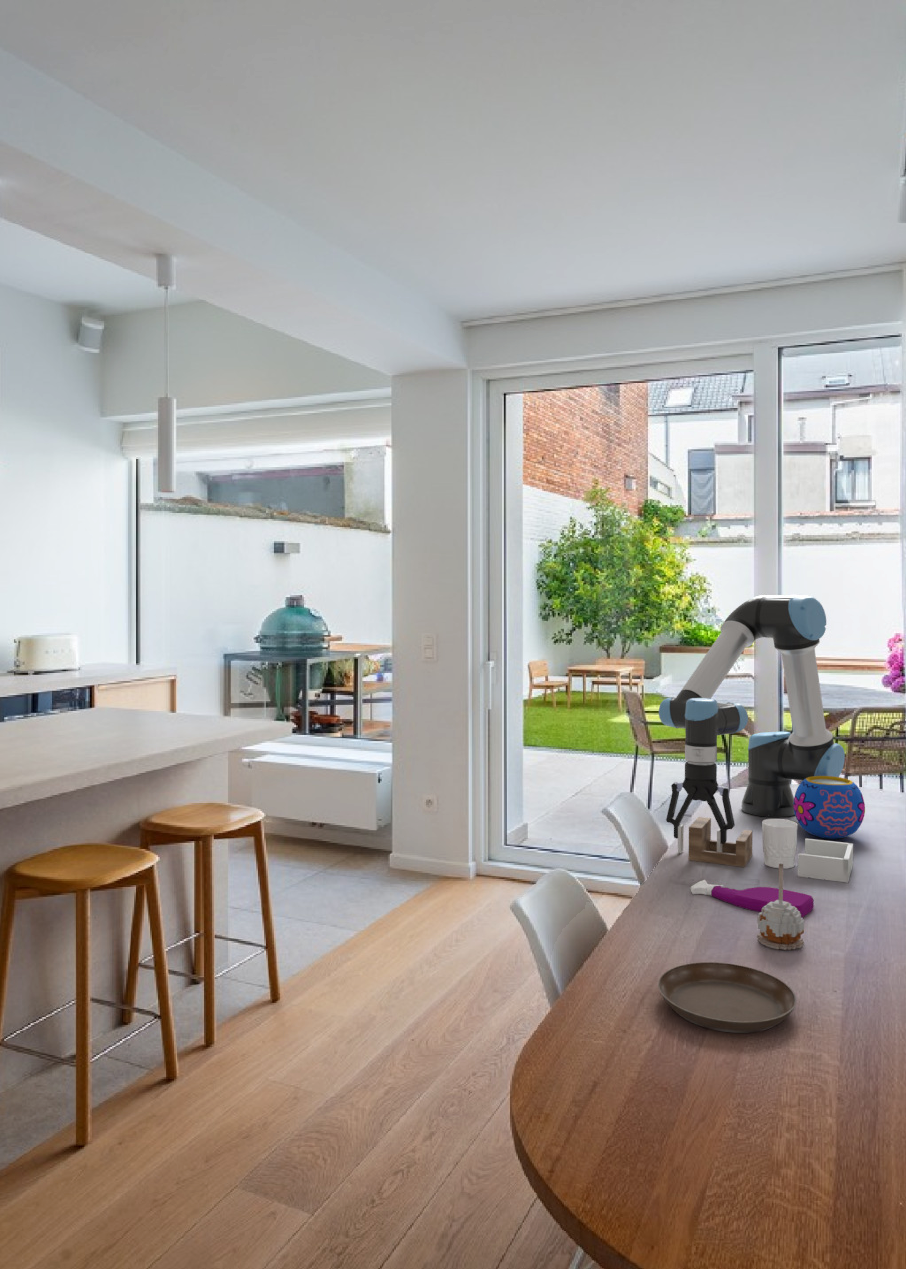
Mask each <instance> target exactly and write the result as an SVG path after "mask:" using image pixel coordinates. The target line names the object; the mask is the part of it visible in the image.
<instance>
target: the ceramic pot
mask: <svg viewBox="0 0 906 1269" xmlns="http://www.w3.org/2000/svg"><path fill="white" fill-rule="evenodd" d="M865 805H866V804H865V800H864V796H863V794H862V791H861V789H860V788H859V786H858V785H857V784H856V783H855V782H854V781H853V780H851V779H848V778H845V777H840V776H839V777H833V776H812V777H808V778H806V779H804V780H803V781H800V783H799V784H798V786H797V788H796V790H795V794H794V803H793V807H794V813H795V815H794V817H795V819H796V821H797V824H798V825H799V826H800V827H801V828H802V829H803V830H804V831H806V832H808V833H809V834H810V835H812V836H815V837H818V838H822V839H827V840H828V839H829V840H837V839H843V838H845V837H849V836H851V835H853V834H855V833H856V832H857V831H858V830H859V828H860V827H861V825H862V823H863V821H864V819H865V818H864V817H865V814H866V806H865Z"/></svg>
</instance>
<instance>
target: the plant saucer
mask: <svg viewBox="0 0 906 1269" xmlns="http://www.w3.org/2000/svg"><path fill="white" fill-rule="evenodd" d="M657 987H658V990H659V993H660V994H661V996H662V998H663V999H664V1001H665V1002H666V1003H667V1004H668V1006H669V1007H670V1008H671V1009H673V1011H674V1012H675V1013H677V1014H678V1015H679V1016H680V1017H682V1018H683V1019H685V1020H686V1021H688V1022H690V1023H693V1024H695V1025H697V1026H700V1027H701V1028H705V1029H710V1030H713V1031H716V1032H717V1031H719V1032H724V1033H734V1034H736V1033H737V1034H739V1033H740V1034H743V1033H744V1034H748V1033H757V1032H763V1031H765V1030H770V1029H771V1028H773V1027H776V1025H779V1024H780V1023H782V1022H783V1021H784V1020H786V1019H787V1017H788V1016H790V1014H791V1013H792V1012H793V1010H795V1007H796V1005H797V1001H798V1000H797V995H796V993H795V991H794V990H793V989H792V988H791V987H790V986H789V985H788V984H787V983H786V982H784V981H782V979H779V978H778V977H776V976H774V975H772V974H770V973H767V972H764V971H762V970H760V969H757V968H752V967H748V966H744V965H740V964H734V963H726V962H715V961H714V962H712V961H709V962H708V961H707V962H706V961H705V962H703V961H702V962H692V963H685V964H682V965H677V966H674V967H672V968H670V969H668V970H666V971H665V972H664V973H663V974H662V975H661V976H660V977H659V979H658V980H657Z"/></svg>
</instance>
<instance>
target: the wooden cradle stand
mask: <svg viewBox="0 0 906 1269" xmlns="http://www.w3.org/2000/svg"><path fill="white" fill-rule="evenodd" d="M711 826H712V818H710V817H705V816H704V817H703V816H699V817H697V818H696V819H695V820H694V821H693V822H692V823H691V824H690V825H689V826H688V861H694V862H703V863H708V864H709V863H710V864H719V865H725V866H733V867H734V866H735V867H743V868H745V867H746V866H747V864H748V862H749V861H750V859H751V857H752V856H753V830H749V829H743V831H742V832H741V833H740V835H739V836H738V837H737V838H736V840H735V842H730V841H726V843H725V844H722V852H717V840H713V839H712V833H711V832H712V831H711V830H712V829H711V828H712V827H711Z"/></svg>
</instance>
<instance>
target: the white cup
mask: <svg viewBox="0 0 906 1269" xmlns="http://www.w3.org/2000/svg"><path fill="white" fill-rule="evenodd" d="M761 825H762V826H761V827H762V848H763V849H762V850H763V860H764V862H763V863H764V865H765V866H767V867H770V868H774V869H779V864H780V863H782V864H783V870H785V869H787V870H788V869H792V868H794V867H795V864H796V853H797V840H798V828H799V827H798V825H799V823H798V822H796V821H794V820H791V819H790V820H789V819H784V818H767V819H766V818H765V819H763V820H762V822H761Z"/></svg>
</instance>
